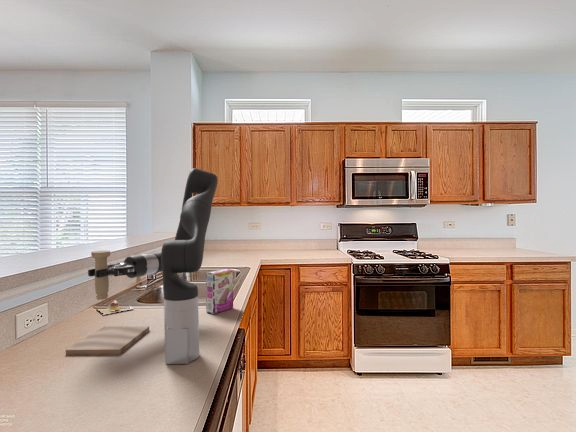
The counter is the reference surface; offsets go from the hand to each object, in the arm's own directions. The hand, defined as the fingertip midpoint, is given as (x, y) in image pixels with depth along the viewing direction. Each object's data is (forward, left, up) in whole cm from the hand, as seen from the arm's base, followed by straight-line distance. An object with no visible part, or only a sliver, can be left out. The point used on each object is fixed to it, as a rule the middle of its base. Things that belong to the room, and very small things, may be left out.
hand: (92, 273), depth 107 cm
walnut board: (+3, -3, -22) cm, 23 cm away
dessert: (+39, +14, -23) cm, 48 cm away
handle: (+3, -1, -9) cm, 9 cm away
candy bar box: (+37, -31, -23) cm, 54 cm away
